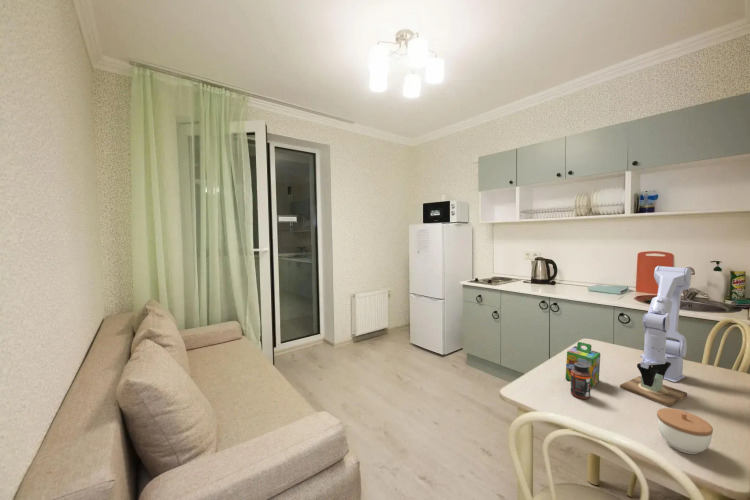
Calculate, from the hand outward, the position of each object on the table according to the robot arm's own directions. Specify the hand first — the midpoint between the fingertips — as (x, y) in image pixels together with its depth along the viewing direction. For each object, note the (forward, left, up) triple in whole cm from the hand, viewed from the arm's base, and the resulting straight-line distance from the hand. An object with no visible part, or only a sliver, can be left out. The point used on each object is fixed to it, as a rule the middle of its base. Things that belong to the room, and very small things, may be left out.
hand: (653, 382), depth 111 cm
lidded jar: (+27, +17, -4) cm, 32 cm away
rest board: (0, 0, -3) cm, 3 cm away
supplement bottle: (+25, -11, -4) cm, 28 cm away
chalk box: (+13, -17, -4) cm, 22 cm away
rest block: (0, 0, -2) cm, 2 cm away
